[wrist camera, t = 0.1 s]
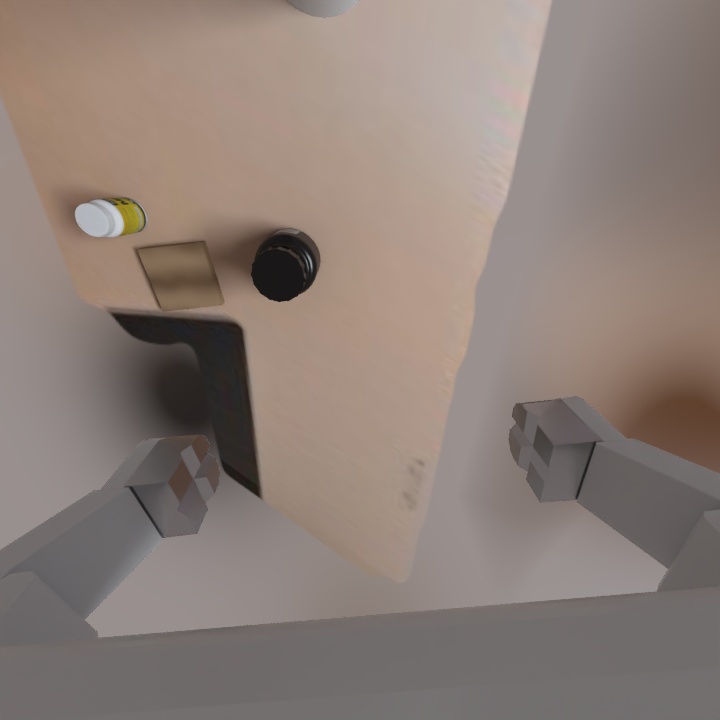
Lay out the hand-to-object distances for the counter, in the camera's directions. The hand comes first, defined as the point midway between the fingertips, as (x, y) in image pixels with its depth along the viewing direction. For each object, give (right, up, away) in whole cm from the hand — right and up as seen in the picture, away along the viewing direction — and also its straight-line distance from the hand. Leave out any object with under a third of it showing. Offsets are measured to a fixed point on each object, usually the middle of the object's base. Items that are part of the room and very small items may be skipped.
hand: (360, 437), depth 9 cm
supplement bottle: (-34, +24, +40) cm, 58 cm away
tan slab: (-29, +16, +44) cm, 55 cm away
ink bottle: (-11, +19, +43) cm, 48 cm away
